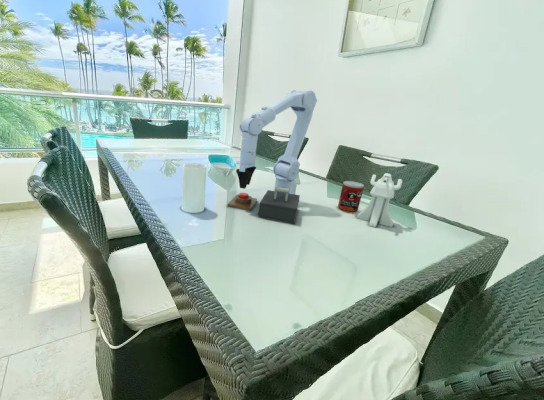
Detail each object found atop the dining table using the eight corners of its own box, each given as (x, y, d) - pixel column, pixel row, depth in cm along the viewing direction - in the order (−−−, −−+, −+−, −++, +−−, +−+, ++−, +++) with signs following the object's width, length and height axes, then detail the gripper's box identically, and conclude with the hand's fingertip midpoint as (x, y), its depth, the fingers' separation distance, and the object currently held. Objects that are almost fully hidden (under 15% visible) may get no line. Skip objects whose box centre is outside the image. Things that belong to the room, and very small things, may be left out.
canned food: (337, 210, 109) (343, 184, 106) (337, 204, 117) (343, 179, 113) (358, 214, 107) (365, 187, 103) (357, 208, 114) (363, 182, 110)
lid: (267, 191, 110) (269, 178, 108) (299, 197, 106) (301, 183, 105) (259, 204, 95) (261, 189, 93) (296, 211, 92) (299, 195, 90)
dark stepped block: (265, 203, 111) (267, 192, 109) (297, 209, 107) (299, 197, 106) (258, 217, 97) (259, 204, 95) (294, 224, 93) (296, 211, 92)
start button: (240, 195, 110) (240, 192, 109) (248, 197, 109) (249, 193, 108) (237, 198, 106) (238, 194, 106) (246, 199, 105) (247, 196, 105)
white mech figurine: (353, 222, 99) (366, 174, 93) (359, 212, 109) (371, 168, 103) (391, 232, 93) (406, 181, 87) (393, 221, 103) (407, 174, 97)
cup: (186, 214, 94) (187, 169, 89) (178, 205, 101) (179, 163, 96) (207, 211, 98) (210, 168, 93) (199, 203, 105) (200, 162, 99)
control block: (236, 197, 115) (236, 190, 114) (256, 201, 113) (257, 194, 112) (227, 206, 104) (228, 199, 103) (250, 211, 102) (251, 203, 101)
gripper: (242, 147, 109) (239, 180, 113) (232, 152, 96) (229, 189, 100) (260, 149, 107) (256, 182, 112) (252, 155, 94) (247, 192, 98)
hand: (244, 186), depth 106 cm, fingers open, 5 cm apart
